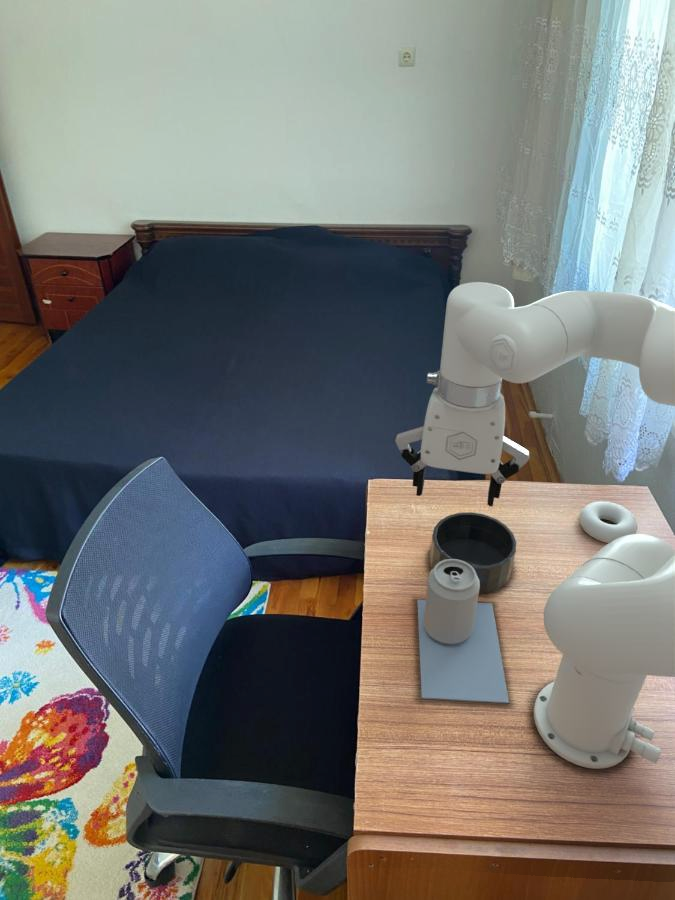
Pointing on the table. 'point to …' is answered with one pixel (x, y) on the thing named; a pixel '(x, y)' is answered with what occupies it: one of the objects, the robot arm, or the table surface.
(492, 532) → the pot
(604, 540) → the donut
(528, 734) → the table surface
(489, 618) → the cloth
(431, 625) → the can
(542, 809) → the table surface
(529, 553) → the table surface
